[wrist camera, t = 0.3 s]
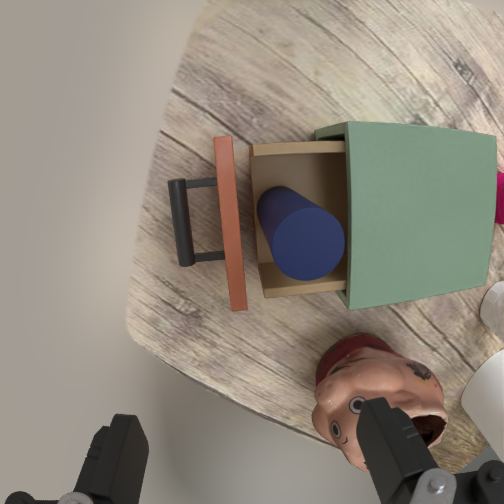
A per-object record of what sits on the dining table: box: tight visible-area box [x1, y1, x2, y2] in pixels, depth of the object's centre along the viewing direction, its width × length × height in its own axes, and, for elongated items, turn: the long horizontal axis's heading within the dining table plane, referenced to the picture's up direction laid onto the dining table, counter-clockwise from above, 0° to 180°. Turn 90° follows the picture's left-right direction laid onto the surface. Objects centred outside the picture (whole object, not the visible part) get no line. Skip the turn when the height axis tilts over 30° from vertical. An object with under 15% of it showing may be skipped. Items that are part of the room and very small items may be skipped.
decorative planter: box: [311, 333, 448, 473], centre depth 28 cm, size 20×12×14 cm, turn 63°
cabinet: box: [315, 121, 497, 311], centre depth 25 cm, size 15×14×9 cm
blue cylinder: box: [256, 186, 345, 281], centre depth 21 cm, size 4×4×11 cm
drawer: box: [168, 136, 348, 311], centre depth 25 cm, size 18×12×7 cm
